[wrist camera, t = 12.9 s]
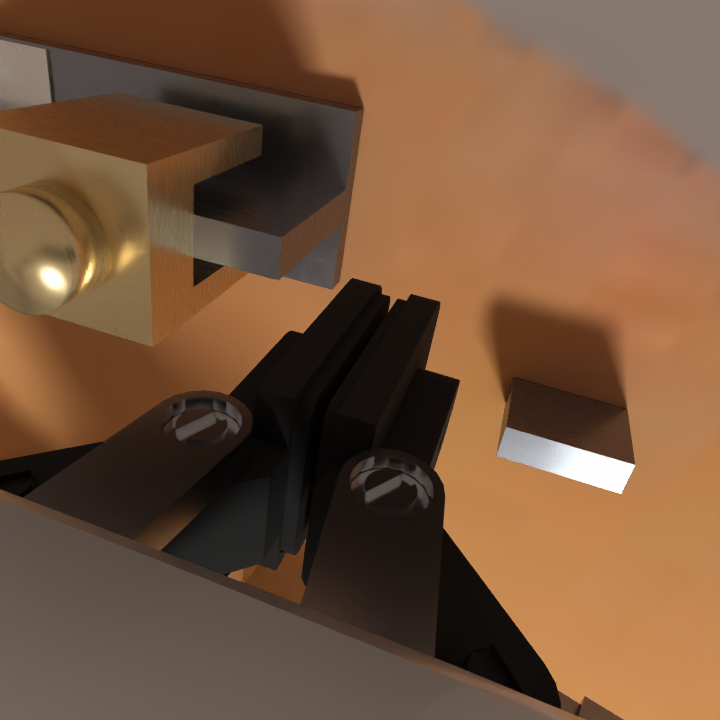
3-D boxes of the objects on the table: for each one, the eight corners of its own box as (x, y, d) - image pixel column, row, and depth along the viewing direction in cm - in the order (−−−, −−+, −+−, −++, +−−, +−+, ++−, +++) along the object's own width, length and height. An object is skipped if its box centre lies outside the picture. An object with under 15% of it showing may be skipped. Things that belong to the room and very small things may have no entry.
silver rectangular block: (614, 435, 22) (620, 493, 19) (505, 404, 23) (496, 455, 20) (627, 409, 21) (634, 465, 19) (514, 377, 22) (506, 426, 19)
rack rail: (339, 281, 22) (272, 357, 17) (-141, 153, 26) (-309, 185, 21) (363, 108, 19) (290, 139, 14) (-186, -8, 23) (-395, -15, 18)
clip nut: (253, 268, 21) (116, 375, 15) (125, 233, 22) (-56, 320, 15) (263, 124, 18) (102, 179, 12) (117, 92, 19) (-102, 127, 13)
